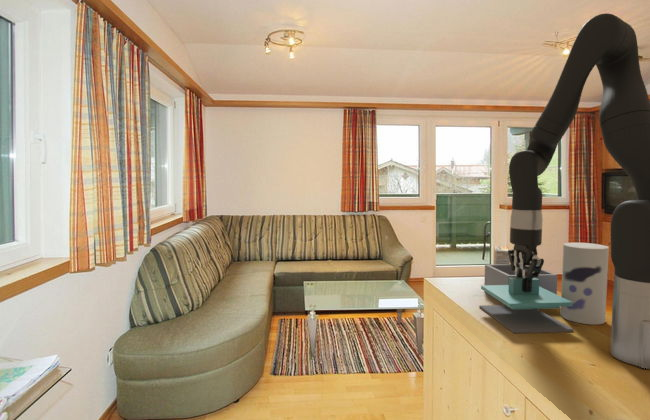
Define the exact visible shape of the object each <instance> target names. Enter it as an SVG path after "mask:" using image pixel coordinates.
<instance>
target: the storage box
mask: <svg viewBox="0 0 650 420" xmlns="http://www.w3.org/2000/svg"><path fill="white" fill-rule="evenodd" d="M528 266H530V265H528ZM527 272H528V270H527ZM534 272H535V271H534ZM509 278H516V274H515V271H512V269H511V264H495V265H493V264H484V285H509ZM558 278H559V277H558V274H557V273H554V272H552V271H548V270H546V269H543V268H541V271H540V273H539V276H538V278H537V279H539V286H540V287H542V288H544V289H546V290H548V291H550V292H552V293H554V294H556V295H558Z"/></svg>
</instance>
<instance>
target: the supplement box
mask: <svg viewBox="0 0 650 420" xmlns="http://www.w3.org/2000/svg"><path fill="white" fill-rule="evenodd" d="M508 250H510V249H509V247H508V246H501V245H500V246H499V245H498V246H496V245H494V246H493V264H492V265H495V264H510V260H509V255H508Z"/></svg>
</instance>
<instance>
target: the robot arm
mask: <svg viewBox="0 0 650 420" xmlns="http://www.w3.org/2000/svg"><path fill="white" fill-rule="evenodd" d="M595 66H596V68H597V71H598V73H599V77H600V81H601V83H602V98H601V102H600V106H599V114H598V115H599V116H598V117H599V119H598V120H599V127H600V131H601V132H600V133H601V136H602V140H603V143H604V146H605V149H606V150H607V152H608V153H609V155H610V156H611V157H612V158H613V160H614V161H615V162H616V163H617V165H619V167H620V168H621V169H622V170H623V171H624V172H625V173H626V174H627V176H628V177H629V179H630V180H631V182H632V184H633V187H634V189H635V191H636V192H635V193H636V196H637V199H632V200H625V201H623V202H621V203H620V204H618V205H617V206H616V207H615V208H614V210H613V212H612V215H611V220H610V259H611V262H612V265H613V268H614V270H613V271H614V273H613V274H614V276H613V278H614V279H613V292H612V293H613V295H612V313H611V329H610V351H609V353H610V354H611V356H612V357H614V358H616V359H617V360H618V361H621V362H624V363H625V364H629V365H633V366H636V367H638V366H639V368H640V367H641V368H640V369H642V368H644V370H645V368H646V369H648V370H649V369H650V97H649V94H648V91H647V87H646V84H645V82H644V80H643V77H642V71H641V66H640V59H639V49H638V39H637V35H636V31H635V29H634V28H633V27H632V25H631V24H629V23H627V22H626V21H624V20H623V19H622V18H620V17H618V16H616V15H615V14H613V13H608V12H607V13H606V12H605V13H600V14H598V15H595V16H593V17H591V18H590V19H588V20H587V21H586V22H585V23H584V24H583V26H581V28H580V30H579V31H578V33H577V36H576V37H575V40H574V42H573V44H572V47H571V49H570V51H569V54H568V56H567V58H566V61H565V63H564V67H563V69H562V71H561V73H560V75H559V78H558V80H557V83H556V85H555V87H554V90H553V92H552V94H551V95H550V98H549V100H548V102H547V104H546V105H545V107H544V109H543V111H542V112H541V114H540V116H539V117H538V119H537V121H536V123H535V124H534V126H533V128H532V130H531V132H530V137H531V140H530V142H529V144H528V146H527V148H526V149H523V150H519V151H517V152H515V153H514V155H513V156H512V157H511V158H510V161H509V166H508V173H509V181H510V186H511V190H512V197H511V201H512V202H511V214H510V226H509V242H510V244H512V245H514V246H513V249H509V250H508V255H509V260H510V264H511V269H512V271H515V274H516V278H522V280H523V281H522V291H523V292H531V291H532V279H533V278H538V276H539V273H540V271H541V269H543V265H544V263H545V260H544V258H540V257H539V256H538V249H537V247H538V246H541V245H542V241H543V239H542V238H543V211H542V209H543V192H542V190H541V188H539V180H538V179H539V178H538V177H539V176H540V175H542V174H543V173H544V172H545V171H546V169H547V168H548V166H550V164H551V161H552V159H553V157H554V154H555V153H556V150H557V147H558V145H559V143H560V142H561V140H562V138H563V137H564V135H565V134H566V132H568V129H569V127H570V126H571V124H572V123H573V121H574V119H575V117H576V114H577V112H578V109H579V105H580V102H581V97H582V94H583V90H584V87H585V85H586V83H587V79H588V77H589V76H590V74H591V72H592V71H593V69H594V67H595ZM528 265H530V266H528ZM527 270H528V272H527ZM534 271H535V272H534Z"/></svg>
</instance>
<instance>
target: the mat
mask: <svg viewBox="0 0 650 420" xmlns="http://www.w3.org/2000/svg"><path fill="white" fill-rule="evenodd" d="M478 306H479V309H481V310H482V311H483V312H485V313H486V314H488V316H489V317H492V318H493V320H494V319H495V321H497V322H499V324H501V325H503V326H504V327H505V328H506V329H508V330H509V331H511V332H512V333H513V334H534V333H535V334H536V333H540V334H541V333H569V332H570V333H573V332H575V331H574V328H572V327H571V326H569V325H566V324H565V323H563V322H561V321H560V320H558V319H556V318H555V317H553V316H550V315H549V314H547V313H545V312H544V311H542V310H541V309H514V310H513V309H511V308H510V307H508V306H506V305H505V304H491V305H490V304H488V305H487V304H485V305H478Z"/></svg>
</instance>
